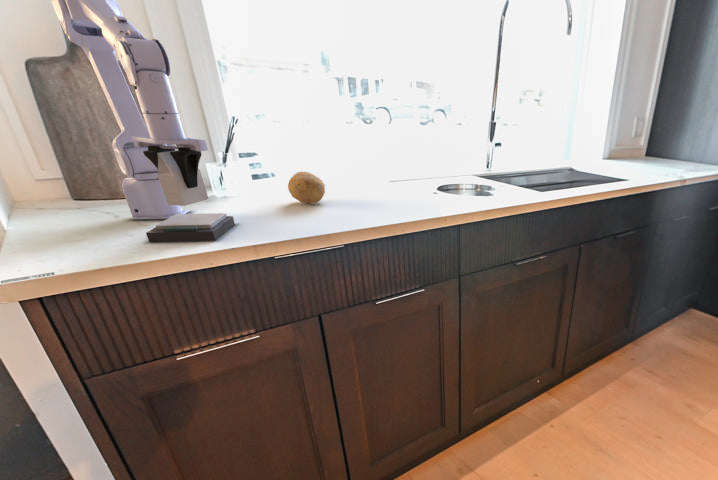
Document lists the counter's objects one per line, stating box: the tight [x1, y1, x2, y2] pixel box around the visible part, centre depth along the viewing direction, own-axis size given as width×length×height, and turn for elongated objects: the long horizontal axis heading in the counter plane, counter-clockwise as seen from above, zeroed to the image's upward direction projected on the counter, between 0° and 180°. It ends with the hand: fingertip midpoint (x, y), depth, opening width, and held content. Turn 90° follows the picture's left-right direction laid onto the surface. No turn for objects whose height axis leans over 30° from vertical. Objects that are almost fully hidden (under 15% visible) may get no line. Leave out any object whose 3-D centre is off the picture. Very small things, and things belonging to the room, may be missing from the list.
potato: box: [287, 171, 326, 205], centre depth 119 cm, size 10×14×8 cm
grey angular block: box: [157, 149, 209, 207], centre depth 88 cm, size 4×7×10 cm, turn 172°
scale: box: [145, 212, 236, 243], centre depth 92 cm, size 12×13×3 cm
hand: (183, 186), depth 89 cm, fingers closed on grey angular block, 4 cm apart
